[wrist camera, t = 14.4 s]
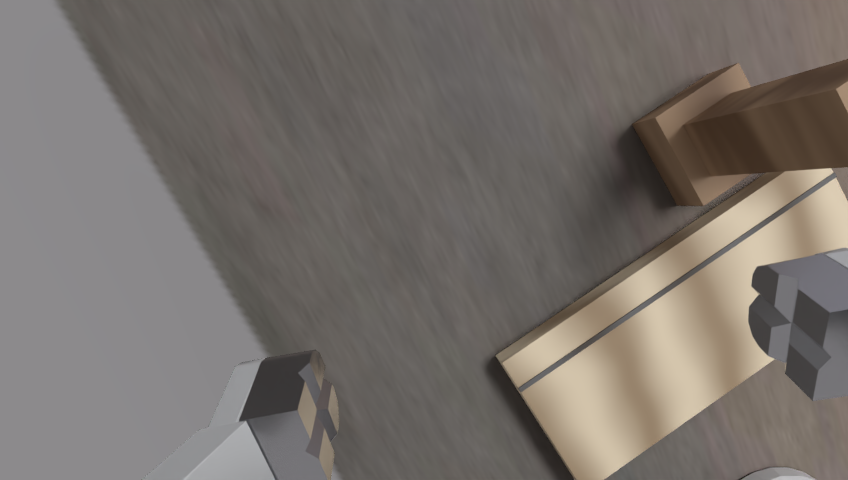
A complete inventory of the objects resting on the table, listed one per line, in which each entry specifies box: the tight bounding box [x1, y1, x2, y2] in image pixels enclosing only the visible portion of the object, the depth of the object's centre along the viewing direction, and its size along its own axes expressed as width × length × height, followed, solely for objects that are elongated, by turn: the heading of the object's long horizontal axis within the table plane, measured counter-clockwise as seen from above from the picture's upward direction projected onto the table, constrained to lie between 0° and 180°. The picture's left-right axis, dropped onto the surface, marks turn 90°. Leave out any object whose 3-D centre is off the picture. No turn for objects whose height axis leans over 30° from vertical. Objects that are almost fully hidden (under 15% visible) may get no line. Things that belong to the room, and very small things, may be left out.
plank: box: [495, 168, 848, 480], centre depth 32 cm, size 24×10×2 cm, turn 123°
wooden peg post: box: [632, 59, 848, 206], centre depth 26 cm, size 6×6×13 cm
